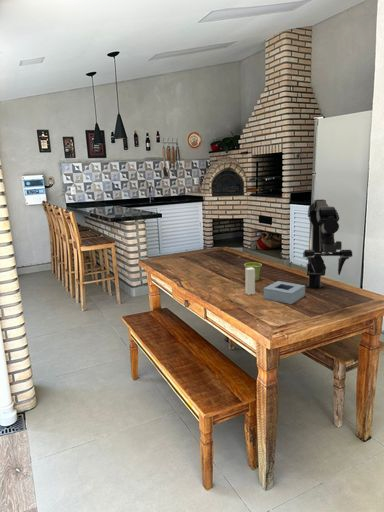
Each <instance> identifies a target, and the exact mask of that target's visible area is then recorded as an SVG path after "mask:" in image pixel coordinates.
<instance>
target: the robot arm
mask: <svg viewBox="0 0 384 512" xmlns="http://www.w3.org/2000/svg"><path fill="white" fill-rule="evenodd" d="M307 217H308V221H309V222H310V224H311V227H312V229H311V232H312V233H311V249H305V250H304V251H303V253H302V257H303V258H304V259H306V260H307V263H306V267H305V275H306V276H308V284H307V285H305V288H311V289H316V290H317V289H318V290H319V289H321V288H322V287H324V284H321V282H322V279H321V278H322V277H324V276H325V275H326V269H327V266H326V264H325V261H324V259H323V257H339V258H338V265H337V266H338V267H337V274H338V276H340V275H341V272H342V269H343V266H344V264H345V262H346V260H349V259H350V258H352V257H353V250H351V249H342V248H343V247H342V243H343V242H342V241H341V240H336V241H335V233H337V232H338V230H339V229H340V224H339V220H340V216H339V213H338V211H337V209H336V208H335V206H331V205H330V206H329V204H328V203H327V200H326V199H315V200H314V201H313V203H312V204H310V205H308V209H307Z"/></svg>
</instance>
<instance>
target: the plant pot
mask: <svg viewBox="0 0 384 512" xmlns="http://www.w3.org/2000/svg"><path fill="white" fill-rule="evenodd" d="M243 264H244V269H245V268H250V267H252V268H254V269H255V282H256V281H259V279H260V271H261V268H262V266H263V264H262V263H260V262H255V261H253V262H252V261H251V262H250V261H249V262H246V263H243Z"/></svg>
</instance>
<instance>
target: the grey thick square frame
mask: <svg viewBox="0 0 384 512" xmlns="http://www.w3.org/2000/svg"><path fill="white" fill-rule="evenodd" d="M304 297H306V285H303V284H297V283H292V282H287V281H280V280H277V281H275V282H272V283H271V284H269V285H267V286H264V287H263V299H264V300H269V301H275V302H278V303H284V304H288V305H292V304H294V303H297V302H298V301H299V300H301V299H302V298H304Z"/></svg>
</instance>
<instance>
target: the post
mask: <svg viewBox="0 0 384 512" xmlns="http://www.w3.org/2000/svg"><path fill="white" fill-rule="evenodd" d="M244 270H245V271H244V272H245V273H244V274H245V276H244V277H245V278H244V279H245V282H244V283H245V285H244V288H245V290H244V291H245V294H246V295H247V294H248V295H247V296H251V294H252V295H256V281H255V269H254V268H252V267H250V268H245V267H244Z"/></svg>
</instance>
